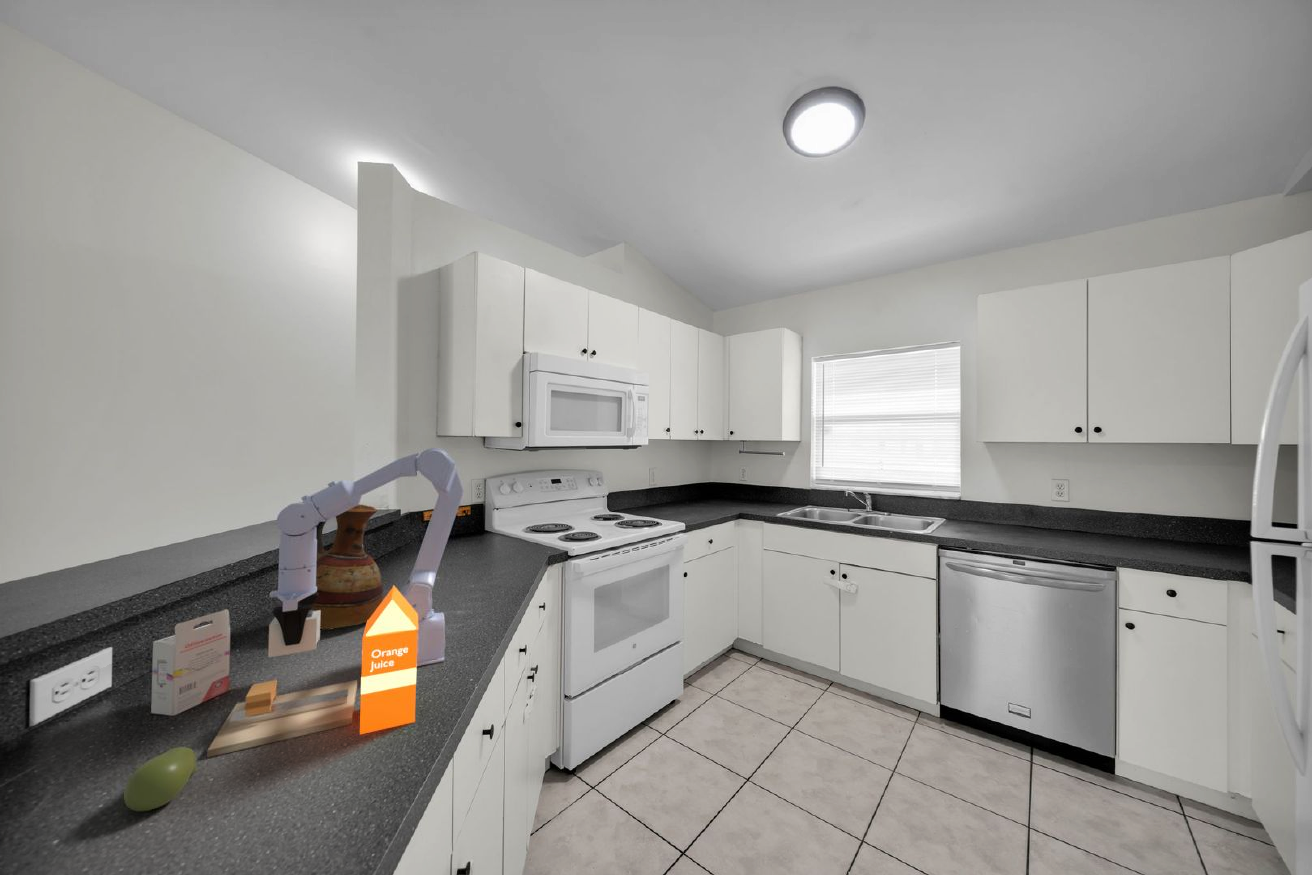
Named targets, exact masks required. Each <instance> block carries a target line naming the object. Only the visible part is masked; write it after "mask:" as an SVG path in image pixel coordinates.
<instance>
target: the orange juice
mask: <svg viewBox="0 0 1312 875" xmlns="http://www.w3.org/2000/svg"><path fill="white" fill-rule="evenodd" d="M365 623H366V624H365V626H364V632H363V635H362V638H361V639H362V643H361V644H362V650H361V677H360V711H359V712H360V715H359V717H360V718H359V719H360V721H359V735H363V734H367V733H368V734H369V733H373V732H377V731H381V730H386V729H390V728H394V727H399V726H403V725H406V724H411V723H416V697H417V696H416V693H417V691H416V690H417V689H416V688H417V672H418V671H417V667H418V666H417V663H416V661H417V630H418V614H417V613H416V611H415V610H414V609H413V608H412V607H411V605H410V604H409V603H408V602H407V601H406V599H405V598H404V597H403V596H402V595H401V593H400V590H399V589H398V588H397V587H396V586H395V585H392V587H391V589H390V590H389V592H388V593H387V595H386V596H385V597H383V600H382V602H381V604H380V605H379V606H378V608H377V609H376V610H375V612H374V613H373V614H372V616H371V617H370V618H369V620H367V622H365Z"/></svg>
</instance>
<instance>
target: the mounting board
mask: <svg viewBox="0 0 1312 875" xmlns="http://www.w3.org/2000/svg"><path fill="white" fill-rule="evenodd" d="M346 689H349V695H348V701H347V703H345V704H340V705H335V706H330V707H326V708H321V709H316V710H312V711H307V712H302V713H298V714H293V715H288V716H284V717H279V718H274V719H269V720H265V721H260V722H255V723H251V724H246V725H241V726H237V727H232V728H229V721H230V719H231V718H232V716H233V714H234V713H235V712H237V711H242V710H245V706H246V701H243V702H239V703H236V704H235V706H234V707H233V708H232V710H231V712H230V713H229V715H228V716H227V718H226V720H225V721H224V723H223V725H222V726H221V728H220V729H219V730H218V732H217V735H216V736H215V737H214V739H213V741H212V742H211V744H210V745H209V746H208V748H207V753H206V754H207V755H206V756H207V757H206V758H210V757H212V758H213V757H216V756H220V755H224V754H229V753H233V752H238V751H242V750H246V749H249V748H254V747H258V746H262V745H268V744H272V743H274V742H275V743H276V742H278V741H279V742H281V741H283V740H285V741H286V740H288V739H293V738H297V737H302V736H306V735H310V734H314V733H319V732H324V731H327V730H332V729H335V728H341V727H344V726H348V725H352V722H353V715H354V709H355V703H356V696H357V692H358V691H357V690H358V679H357V680H352V681H347V682H345V681H344V682H341V683H335V684H330V685H326V686H325V685H324V686H320V687H319V686H318V687H314V688H309V689H305V690H300V691H294V692H290V693H284V694H280V695H277V697H276V700H273V701H272V703H271V705H272V704H277V703H282V702H287V701H291V700H296V699H301V698H306V697H311V696H316V695H321V694H326V693H331V692H336V691H341V690H346Z"/></svg>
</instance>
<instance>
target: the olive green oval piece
mask: <svg viewBox="0 0 1312 875" xmlns="http://www.w3.org/2000/svg"><path fill="white" fill-rule="evenodd" d="M196 761H197V758H196V753H195V751H194V750H193V749H191V748H190V747H186V746H177V747H175V748H171V749H169V750H167V751H165V752H163V753H161V754H160V755H157V756H154V757H153V758H151V759H149V760H147V761H146V762H144V763H142V764H141V765H140V766H139V767H138V768H137V769H135V770H134V772H132V774H131V776H130V777H129V779H128V781H127V782H126V785H125V788H124V793H123V798H124V803H125V805H126V806H127V807H128V809H130V810H132V811H136V812H147V811H148V812H149V811H152V809H153V810H155V808H156V809H158V808H160V807H162V806H165V805H166V804H167V803H170V802H171V801H172V800H173V799H175V798H176V797H178V795H179V794H180V793H181V791H182V790H183V789H184V787H185V786H186V784H187V783H188V781H189V780H190V777H191V776H192V775H193V774H195V773H196V772H197V770H198V765H197V763H196Z"/></svg>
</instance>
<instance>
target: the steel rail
mask: <svg viewBox="0 0 1312 875" xmlns="http://www.w3.org/2000/svg"><path fill="white" fill-rule="evenodd" d="M348 695H349V689H346V690H341V691H336V692H331V693H326V694H321V695H316V696H311V697H306V698H301V699H296V700H291V701H287V702H282V703H277V704H272V705H271V711H270V712H267V713H262V714H257V715H252V716H247V717H245V710H242V711H237V712H235V713H234V714H233V716H232V718H231V719H230V721H229V728H232V727H237V726H241V725H246V724H251V723H255V722H260V721H265V720H269V719H274V718H279V717H284V716H288V715H293V714H298V713H302V712H307V711H312V710H316V709H321V708H326V707H330V706H335V705H340V704H345V703H347V701H348Z"/></svg>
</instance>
